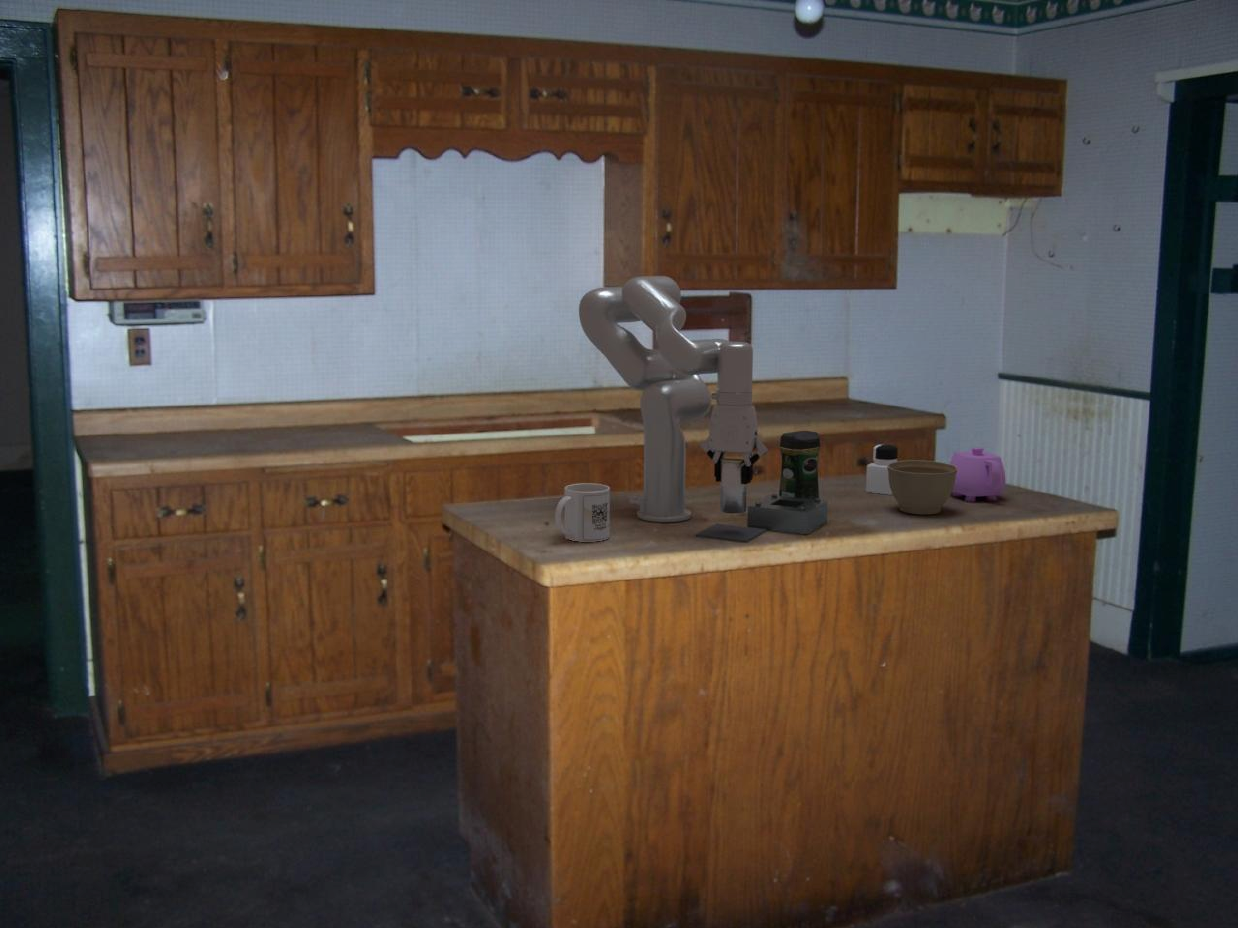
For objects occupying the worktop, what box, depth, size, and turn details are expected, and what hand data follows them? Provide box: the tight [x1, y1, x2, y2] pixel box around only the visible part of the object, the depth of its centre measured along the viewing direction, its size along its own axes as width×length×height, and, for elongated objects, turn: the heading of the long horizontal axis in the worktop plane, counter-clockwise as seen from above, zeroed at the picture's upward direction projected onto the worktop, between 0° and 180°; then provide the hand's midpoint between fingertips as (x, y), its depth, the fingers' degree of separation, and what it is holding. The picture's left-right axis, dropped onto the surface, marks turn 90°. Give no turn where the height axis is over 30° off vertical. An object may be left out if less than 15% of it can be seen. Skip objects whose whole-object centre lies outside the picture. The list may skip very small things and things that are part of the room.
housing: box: [746, 493, 829, 535], centre depth 290 cm, size 14×14×6 cm
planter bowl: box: [887, 459, 957, 516], centre depth 305 cm, size 16×16×11 cm
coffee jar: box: [778, 430, 821, 499], centre depth 308 cm, size 10×8×19 cm
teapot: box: [949, 446, 1006, 502], centre depth 322 cm, size 20×12×13 cm, turn 15°
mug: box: [554, 482, 611, 543], centre depth 276 cm, size 10×12×11 cm
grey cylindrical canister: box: [720, 456, 747, 514], centre depth 280 cm, size 6×6×12 cm
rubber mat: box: [695, 523, 768, 543], centre depth 282 cm, size 12×12×1 cm
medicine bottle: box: [865, 443, 899, 496], centre depth 328 cm, size 7×7×12 cm
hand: (733, 481), depth 280 cm, fingers closed on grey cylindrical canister, 5 cm apart
